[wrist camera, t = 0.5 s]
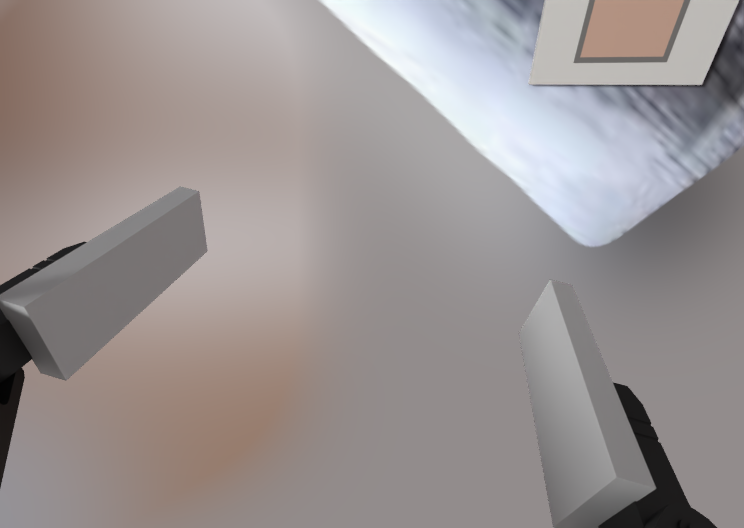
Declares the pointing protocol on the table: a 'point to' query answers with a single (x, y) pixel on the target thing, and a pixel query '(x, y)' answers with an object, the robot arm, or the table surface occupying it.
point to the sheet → (628, 41)
